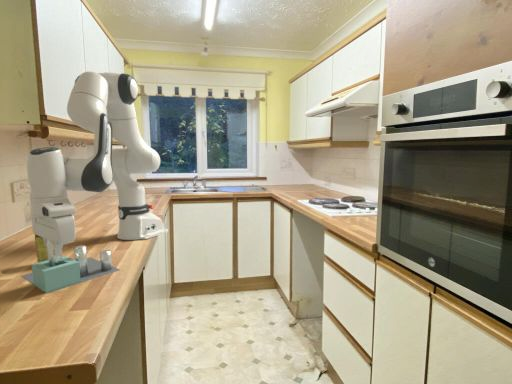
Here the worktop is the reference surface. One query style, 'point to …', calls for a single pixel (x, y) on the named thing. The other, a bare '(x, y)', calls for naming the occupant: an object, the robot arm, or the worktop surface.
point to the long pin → (53, 259)
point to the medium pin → (81, 259)
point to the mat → (93, 272)
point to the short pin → (105, 260)
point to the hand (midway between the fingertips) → (54, 254)
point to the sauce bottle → (41, 249)
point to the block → (56, 274)
